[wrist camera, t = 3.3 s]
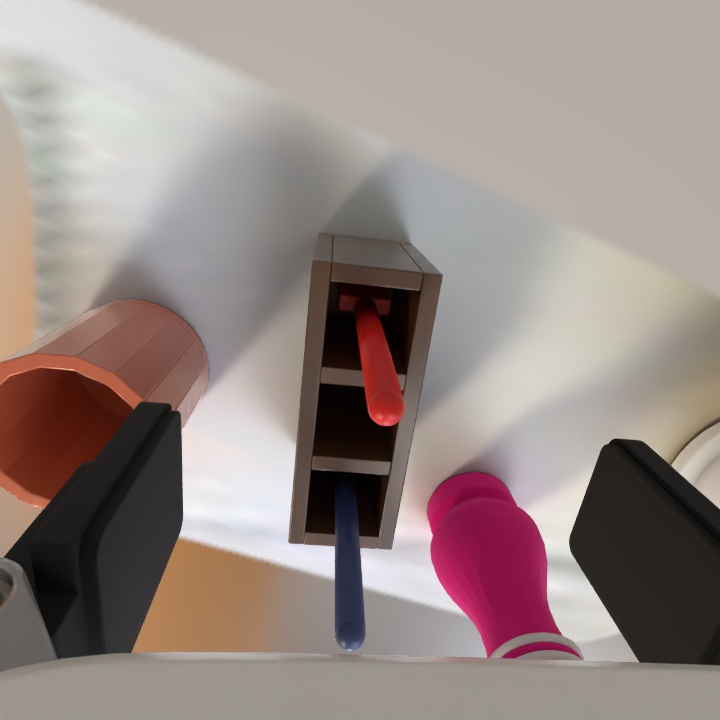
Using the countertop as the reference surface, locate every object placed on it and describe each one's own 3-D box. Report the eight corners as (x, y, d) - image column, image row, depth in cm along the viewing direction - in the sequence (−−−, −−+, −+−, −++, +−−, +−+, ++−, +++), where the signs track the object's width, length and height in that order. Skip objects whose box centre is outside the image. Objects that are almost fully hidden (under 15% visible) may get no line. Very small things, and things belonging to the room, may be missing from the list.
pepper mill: (435, 556, 37) (538, 949, 18) (407, 483, 34) (493, 858, 16) (526, 527, 36) (727, 905, 18) (505, 452, 34) (714, 802, 15)
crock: (209, 307, 29) (158, 364, 20) (209, 428, 32) (164, 521, 23) (63, 291, 28) (-53, 344, 20) (76, 418, 31) (-18, 510, 23)
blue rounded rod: (364, 419, 31) (389, 637, 17) (362, 433, 32) (385, 659, 17) (324, 415, 31) (315, 634, 16) (322, 430, 31) (312, 656, 17)
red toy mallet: (384, 280, 28) (437, 402, 13) (381, 298, 28) (430, 437, 14) (339, 275, 28) (344, 394, 13) (337, 293, 28) (340, 429, 13)
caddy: (411, 243, 28) (443, 274, 20) (377, 456, 33) (391, 550, 25) (318, 232, 27) (312, 259, 19) (299, 450, 33) (287, 543, 25)
